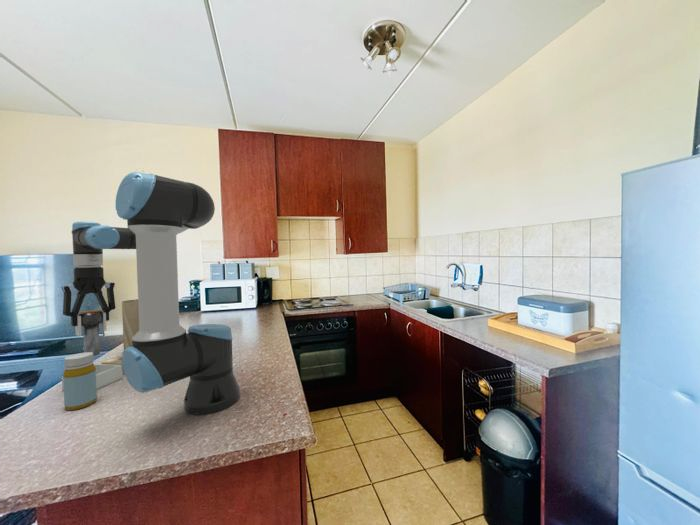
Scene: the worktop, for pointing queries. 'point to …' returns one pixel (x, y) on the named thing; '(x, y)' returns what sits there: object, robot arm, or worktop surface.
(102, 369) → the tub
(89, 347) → the grey capped post
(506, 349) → the worktop surface
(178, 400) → the worktop surface
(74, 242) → the robot arm
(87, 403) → the bottle
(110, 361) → the eye block
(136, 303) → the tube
